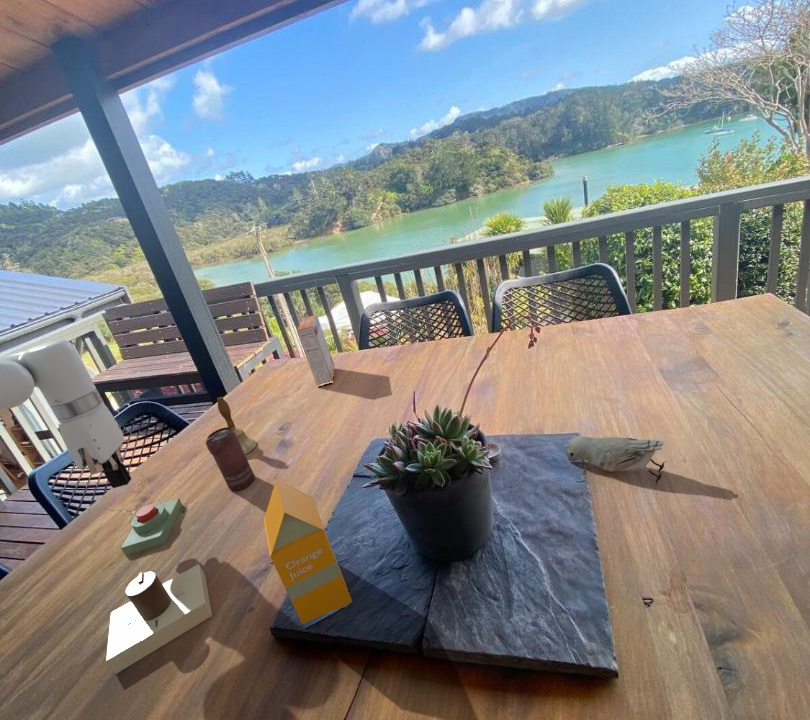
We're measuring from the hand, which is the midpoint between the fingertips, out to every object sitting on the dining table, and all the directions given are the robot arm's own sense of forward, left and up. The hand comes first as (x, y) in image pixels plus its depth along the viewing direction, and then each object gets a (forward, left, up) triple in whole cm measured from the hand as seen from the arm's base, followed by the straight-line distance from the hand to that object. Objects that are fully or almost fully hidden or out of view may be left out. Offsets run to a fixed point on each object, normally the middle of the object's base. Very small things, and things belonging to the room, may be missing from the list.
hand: (122, 483), depth 88 cm
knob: (+2, -27, -10) cm, 29 cm away
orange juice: (+25, -41, -13) cm, 50 cm away
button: (+1, +1, -10) cm, 10 cm away
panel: (+2, -27, -13) cm, 31 cm away
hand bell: (+23, +19, -13) cm, 32 cm away
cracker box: (+57, +42, -13) cm, 72 cm away
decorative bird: (+77, -54, -13) cm, 95 cm away
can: (+20, +2, -13) cm, 24 cm away
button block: (+1, +1, -13) cm, 13 cm away
